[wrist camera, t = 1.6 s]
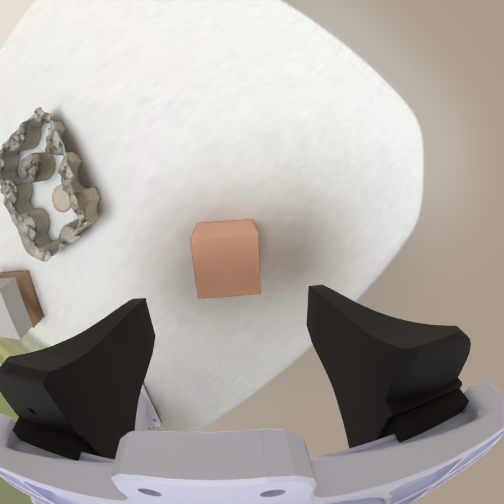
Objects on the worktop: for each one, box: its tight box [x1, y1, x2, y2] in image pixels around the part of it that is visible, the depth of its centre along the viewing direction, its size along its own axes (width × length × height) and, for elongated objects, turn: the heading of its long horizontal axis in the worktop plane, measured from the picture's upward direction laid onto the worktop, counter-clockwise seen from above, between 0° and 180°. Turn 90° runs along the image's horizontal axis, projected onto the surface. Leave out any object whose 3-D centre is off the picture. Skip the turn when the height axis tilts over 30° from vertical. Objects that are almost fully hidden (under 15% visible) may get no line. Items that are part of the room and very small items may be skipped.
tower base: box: [0, 270, 44, 327], centre depth 19 cm, size 5×5×2 cm
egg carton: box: [0, 107, 101, 262], centre depth 15 cm, size 11×8×4 cm
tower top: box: [0, 278, 33, 340], centre depth 17 cm, size 5×5×2 cm
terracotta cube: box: [190, 219, 261, 299], centre depth 18 cm, size 4×4×4 cm
